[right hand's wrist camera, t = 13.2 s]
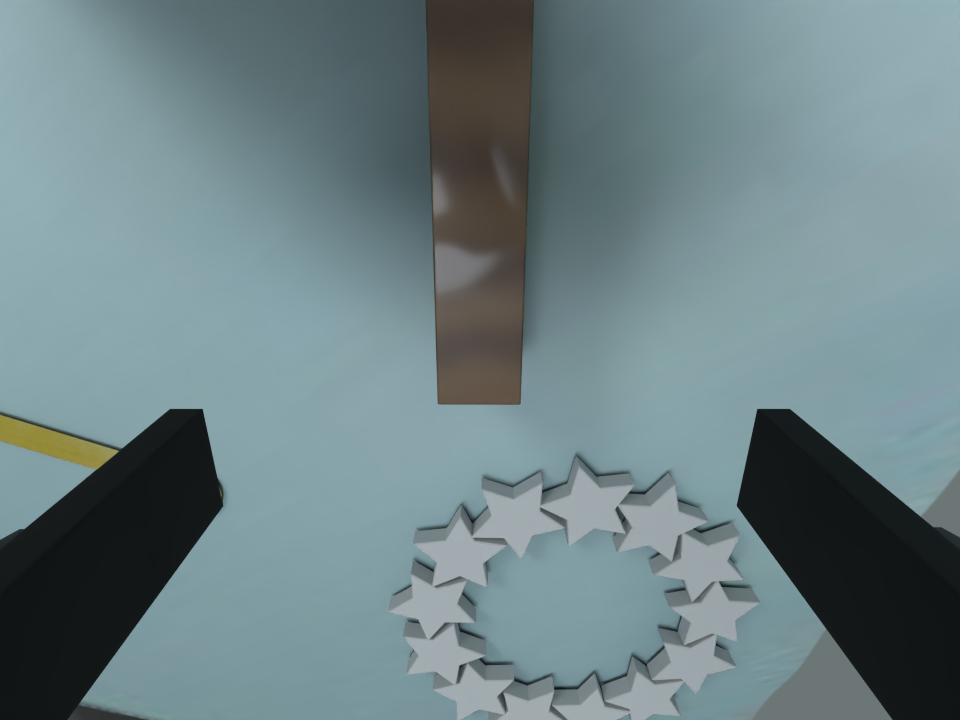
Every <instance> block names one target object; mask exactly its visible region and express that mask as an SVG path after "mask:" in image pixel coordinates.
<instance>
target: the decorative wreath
mask: <svg viewBox="0 0 960 720" xmlns="http://www.w3.org/2000/svg"><path fill="white" fill-rule="evenodd" d="M634 485H635V483H634V481H633V479H632V477H631V474H630V473H629V474H619V475H609V476H599V477H596V476H595V475H594V474H593V473H592V472H591V471H590V470H589V469H588V467H587V466H586V465H585V464H584V463H583V462H582V461H581V460H580V459H579V458H578V457H577V456H575V460H574V463H573V466H572V470H571V473H570V476H569V479H568V483H567V484H565V485H562V486H559V487H556V488H554V489H551V490H548V491H545V492H543V493H542V487H543V481H542V475H541V472H539V473H537V474H536V475H534V476H532V477H530V478H529V479H527V480H525V481H523V482H522V483H520V484H518V485H516V486H515V487H513V488H512V487H509V486H506V485H503V484H500V483H497V482H493V481H490V480H487V479H484V478H482V491H483V494H484V496H485V499H486V502H487V505H488V508H487V509H486V510H485V511H484V512H483V513H482V514H481V515H480V516H479V517H478V519H477V520H476V521H475V522H474V523H473V524H472V522H471V521H470V519H469V517H468V515H467V514H466V512H465V510H464V509H463V507H462V505H461V506H460V507H459V509H458V510H457V512H456V514H455V515H454V517H453V519H452V520H451V522H450V523H449V525H448V527H447V528H443V529H433V530H424V531H415V535H414V541H413V544H414V545H415V546H416V547H418V548H419V549H420V550H421V551H423V552H424V553H425V554H427V555H428V556H429V557H430V558H432V559H433V560H434V561H435V562H436V563H435V568H434V572H433V571H431V570H429V569H427V568H426V567H424V566H422V565H420V564H419V563H417V562H415V561H413V565H412V571H411V580H412V586H411V587H409V588H408V589H406V590H404V591H402V592H400V593H399V594H397V595H395V596H393V597H392V598H391V599H390V604H389V609H388V612H391V613H395V614H399V615H403V616H407V617H412V618H416V619H418V620H419V622H420V624H419V623H411V622H405V628H404V635H403V637H404V638H405V639H406V640H407V642H408V643H409V644H410V645H411V647H412V648H413V649H414V652H413V653H412V655H411V656H410V658H409V659H408V665H407V673H406V675H409V674H417V673H425V672H433V671H435V672H437V673H438V674H435V675H434V680H433V690H434V691H436V692H438V693H440V694H442V695H444V696H446V697H448V698H450V699H453V700H455V701H457V720H460V719H462V718H464V717H466V716H467V715H469V714H471V713H473V712H475V711H477V710H479V709H481V710H485V711H488V714H489V720H617V719H619V718H621V717H623V716H625V715H628V714H629V717H630V720H645V719H646V718H648V717H649V716H651V715H652V714H663V715H675V716H681V715H680V712H679V709H678V707H677V704H676V701H675V699H674V698H673V694H674V693H675V692H676V691H677V690H678V688H679V687H680V686H681V685H682V684H683V683H684V682H685V683H686V684H687V685H688V686H689V687H690V688H691V689H692V691H693V692H694V693H695V694H696V693H697V692H698V690H699V688H700V686H701V685H702V683H703V681H704V679H705V678H706V676H707V675H708V674H712V673H716V672H720V671H724V670H728V669H731V668H735V667H736V665H735V663H734V661H733V659H732V657H731V655H730V653H729V652H728V651H726V650H724V649H722V648H720V647H718V646H716V638H717V635H718V636H721V637H724V638H727V639H730V640H733V641H736V642H737V631H736V621H735V620H737V619H738V618H739V617H741V616H742V615H744V614H745V613H746V612H748V611H749V610H751V609H752V608H753V607H755V606H756V605H758V604H759V603H760V601H759V600H758V598H757V596H756V595H755V593H754V592H753V590H752V589H748V588H730V587H722V586H721V585H720V583H719V581H732V580H744V578H743V577H742V575H741V573H740V572H739V570H738V569H737V567H736V566H735V565H734V563H733V562H732V561H731V560H730V559H729V556H730V554H731V553H732V551H733V549H734V547H735V545H736V543H737V541H738V539H739V537H740V534H739V532H738V531H737V529H736V528H735V526H734V525H733V523H730V524H727V525H724V526H721V527H718V528H715V529H712V530H709V531H706V532H703V533H699V532H697V531H696V530H694V529H693V528H696V527H698V526H700V525H702V524H704V523H706V522H708V519H707V517H706V516H705V514H704V513H703V511H702V509H699V508H696V507H693V506H690V505H687V504H684V503H681V502H678V500H677V493H676V486H675V482H674V481H673V479H672V477H671V476H670V474H669V473H668V474H667V475H665V476H664V477H663V478H662V479H661V480H660V481H659V482H658V483H657V484H656V485H655V486H653V487H652V488H651V489H650V490H649V491H648V492H647V493H646V494H628V493H629V491H630V490H631V489H632V488H633V487H634ZM617 506H618V507H619V508H620V510H621V511H622V513H623V514H624V516H625V517H626V518H625V520H624V522H623V523H622V522H621V520H620V517H619V515H618V513H617V511H616V507H617ZM564 519H565V523H564ZM563 528H565V531H566V538H567V542H568V547H569V546H570V545H572V544H573V543H575V542H576V541H577V540H579V539H580V538H582V537H583V536H584V535H586V534H587V533H589V532H590V531H592V530H593V529H600V530H605V531H611V532H617V533H616V535H615V537H614V538H613V542H614V545H615V548H616V551H617V552H621V551H625V550H630V549H635V548H639V547H644V546H649V545H650V546H651V547H653V548H654V549H655V550H657V551H658V552H659V553H661V554H660V555H658V556H656V557H655V558H653V559H652V560H650V561H648V562H649V565H650V567H651V569H652V572H653V574H654V575H658V576H664V577H669V578H675V579H681V580H683V583H684V586H685V589H686V590H683V591H677V592H671V593H665V594H664V595H665V597H666V600H667V602H668V605H669V607H670V608H671V609H672V610H674V611H675V612H677V613H678V614H679V615H681V616H682V618H681V621H680V625H679V628H678V632H676V631H671V630H666V629H661V628H658V630H659V633H660V635H661V638H662V641H663V643H664V646H665V648H664V649H663V650H662V651H661V652H660V653H659V654H658V655H657V656H656V657H655V658H654V659H653V660H652V661H650V662H649V663H648V664H647V666H645V665H644V664H643V663H641V662H640V661H638V660H637V659H636V658H634V657H633V656H632V659H631V663H630V666H629V670H628V673H627V676H625V677H623V678H620V679H617V680H615V681H612V682H609V683H607V684H604V685H602V686H601V687H602V691H603V692H602V691H601V688H600V685H599V683H598V680H597V678H596V675H595V673H594V674H593V675H592V676H591V677H590V678H589V679H588V680H587V681H586V682H585V683H584V684H583V685H582V686H581V687H580V688H579V689H567V690H554V685H553V678H552V676H551V677H548V678H546V679H543V680H540V681H538V682H535V683H533V684H530V685H528V686H527V685H524V684H521V683H518V682H516V681H514V666H513V665H484V664H483V663H482V662H481V661H480V660H479V659H478V658H481V657H484V656H486V641H485V640H482V639H479V638H477V637H474V636H471V635H468V634H465V633H463V632H460V630H459V626H458V623H476V608H475V607H474V606H473V605H472V604H471V603H470V602H469V601H468V600H467V599H466V598H465V597H464V596H463V595H462V592H463V590H464V587H465V585H466V583H467V579H468V580H470V581H473V582H475V583H477V584H480V585H482V586H484V587H487V588H488V573H487V568H486V561H487V560H489V559H490V558H491V557H493V556H494V555H495V554H497V553H498V552H499V551H501V550H502V549H503V548H505V547H506V546H507V543H508V544H509V545H510V547H511V548H512V549H513V550H514V552H515V553H516V554H517V555H518V557H519V558H520V559H521V560H522V558H523V556H524V554H525V551H526V549H527V547H528V545H529V543H530V541H531V539H532V537H533V535H537V534H541V533H546V532H550V531H555V530H559V529H563ZM460 665H462V666H461V668H460V669H459V666H460ZM502 691H503V693H504V695H503V693H502Z"/></svg>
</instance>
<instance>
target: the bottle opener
mask: <svg viewBox="0 0 960 720" xmlns="http://www.w3.org/2000/svg"><path fill="white" fill-rule="evenodd" d="M0 441H2V442H6V443H9V444H12V445H16V446H19V447H22V448H26V449H29V450H33V451H36V452H39V453H43V454H46V455H49V456H53V457H56V458H59V459H63V460H66V461H69V462H73V463H76V464H80V465H83V466H86V467H90V468H93V469H96V470H97V469H98V468H99V467H100V466H102V465H103V464H104V463H105V462H107V461H108V460H109V459H110V458H111V457H113V456H114V455H115V454H116V453H117V452H119V450H115V449H112V448H109V447H105V446H102V445H99V444H96V443H92V442H89V441H86V440H82V439H79V438H76V437H72V436H69V435H66V434H63V433H59V432H56V431H53V430H49V429H46V428H43V427H40V426H36V425H33V424H30V423H26V422H23V421H20V420H17V419H13V418H10V417H7V416H3V415H0ZM219 488H220V486H219ZM220 493H221V498H222V492H221V489H220Z"/></svg>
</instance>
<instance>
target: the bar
mask: <svg viewBox="0 0 960 720" xmlns="http://www.w3.org/2000/svg"><path fill="white" fill-rule="evenodd" d="M533 16H534V0H426V24H427V57H428V91H429V125H430V158H431V192H432V226H433V259H434V293H435V326H436V360H437V394H438V404H504V405H519V404H520V403H521V374H522V344H523V314H524V284H525V255H526V225H527V195H528V165H529V135H530V106H531V76H532V46H533Z"/></svg>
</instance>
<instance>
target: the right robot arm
mask: <svg viewBox="0 0 960 720" xmlns="http://www.w3.org/2000/svg"><path fill="white" fill-rule="evenodd" d="M222 507H223V502H222V498H221V493H220V488H219V484H218V479H217V474H216V470H215V465H214V460H213V456H212V451H211V446H210V441H209V437H208V432H207V427H206V423H205V418H204V413H203V409H170V410H168V411H167V412H166V413H165V414H164V415H162V416H161V417H160V418H159V419H158V420H156V421H155V422H154V423H153V424H151V425H150V426H149V427H148V428H147V429H145V430H144V431H143V432H142V433H141V434H139V435H138V436H137V437H136V438H134V439H133V440H132V441H131V442H130V443H128V444H127V445H126V446H125V447H124V448H122V449H121V450H120V451H119V452H117V453H116V454H115V455H114V456H113V457H111V458H110V459H109V460H108V461H107V462H105V463H104V464H103V465H102V466H100V467H99V468H98V469H97V470H96V471H94V472H93V473H92V474H91V475H90V476H88V477H87V478H86V479H85V480H84V481H82V482H81V483H80V484H79V485H77V486H76V487H75V488H74V489H73V490H71V491H70V492H69V493H68V494H67V495H65V496H64V497H63V498H62V499H60V500H59V501H58V502H57V503H56V504H54V505H53V506H52V507H51V508H50V509H48V510H47V511H46V512H45V513H43V514H42V515H41V516H40V517H39V518H37V519H36V520H35V521H34V522H33V523H31V524H30V525H29V526H28V527H27V528H25V529H19V530H17V531H16V532H14V533H12V534H10V535H8V536H6V537H5V538H3V539H1V540H0V720H67V719H68V718H69V717H70V715H71V714H72V713H73V711H74V710H75V709H76V707H77V706H78V704H79V703H80V702H81V700H82V699H83V698H84V696H85V695H86V693H87V692H88V691H89V689H90V688H91V687H92V685H93V684H94V682H95V681H96V680H97V678H98V677H99V676H100V674H101V673H102V671H103V670H104V669H105V667H106V666H107V665H108V663H109V662H110V661H111V659H112V658H113V656H114V655H115V654H116V652H117V651H118V650H119V648H120V647H121V645H122V644H123V643H124V641H125V640H126V639H127V637H128V636H129V634H130V633H131V632H132V630H133V629H134V628H135V626H136V625H137V623H138V622H139V621H140V619H141V618H142V617H143V615H144V614H145V613H146V611H147V610H148V608H149V607H150V606H151V604H152V603H153V602H154V600H155V599H156V597H157V596H158V595H159V593H160V592H161V591H162V589H163V588H164V586H165V585H166V584H167V582H168V581H169V580H170V578H171V577H172V575H173V574H174V573H175V571H176V570H177V569H178V567H179V566H180V564H181V563H182V562H183V560H184V559H185V558H186V556H187V555H188V554H189V552H190V551H191V549H192V548H193V547H194V545H195V544H196V543H197V541H198V540H199V538H200V537H201V536H202V534H203V533H204V532H205V530H206V529H207V527H208V526H209V525H210V523H211V522H212V521H213V519H214V518H215V516H216V515H217V514H218V512H219V511H220V510H221V508H222ZM737 507H738V508H739V510H740V511H741V512H742V514H743V515H744V516H745V518H746V519H747V521H748V522H749V523H750V525H751V526H752V527H753V529H754V530H755V532H756V533H757V534H758V536H759V537H760V538H761V540H762V541H763V543H764V544H765V545H766V547H767V548H768V549H769V551H770V552H771V554H772V555H773V556H774V558H775V559H776V560H777V562H778V563H779V564H780V566H781V567H782V569H783V570H784V571H785V573H786V574H787V575H788V577H789V578H790V580H791V581H792V582H793V584H794V585H795V586H796V588H797V589H798V591H799V592H800V593H801V595H802V596H803V597H804V599H805V600H806V602H807V603H808V604H809V606H810V607H811V608H812V610H813V611H814V613H815V614H816V615H817V617H818V618H819V619H820V621H821V622H822V623H823V625H824V626H825V628H826V629H827V630H828V632H829V633H830V634H831V636H832V637H833V639H834V640H835V641H836V643H837V644H838V645H839V647H840V648H841V649H842V651H843V652H844V653H845V655H846V656H847V658H848V659H849V660H850V662H851V663H852V665H853V666H854V667H855V669H856V670H857V671H858V673H859V674H860V676H861V677H862V678H863V680H864V681H865V682H866V684H867V685H868V687H869V688H870V689H871V691H872V692H873V693H874V695H875V696H876V697H877V699H878V700H879V702H880V703H881V704H882V706H883V707H884V709H885V710H886V711H887V713H888V714H889V715H890V717H891V718H892V719H893V720H960V537H958V536H956V535H954V534H952V533H950V532H949V531H947V530H945V529H943V528H941V527H932V526H931V525H930V524H929V523H927V522H926V521H925V520H924V519H923V518H921V517H920V516H919V515H918V514H917V513H915V512H914V511H913V510H912V509H910V508H909V507H908V506H907V505H906V504H904V503H903V502H902V501H901V500H900V499H898V498H897V497H896V496H895V495H893V494H892V493H891V492H890V491H889V490H887V489H886V488H885V487H884V486H883V485H881V484H880V483H879V482H878V481H876V480H875V479H874V478H873V477H872V476H870V475H869V474H868V473H867V472H866V471H864V470H863V469H862V468H861V467H859V466H858V465H857V464H856V463H855V462H853V461H852V460H851V459H850V458H849V457H847V456H846V455H845V454H844V453H843V452H841V451H840V450H839V449H838V448H836V447H835V446H834V445H833V444H832V443H830V442H829V441H828V440H827V439H826V438H824V437H823V436H822V435H821V434H819V433H818V432H817V431H816V430H815V429H813V428H812V427H811V426H810V425H809V424H807V423H806V422H805V421H804V420H802V419H801V418H800V417H799V416H798V415H796V414H795V413H794V412H793V411H792V410H790V409H757V413H756V418H755V423H754V427H753V432H752V437H751V441H750V446H749V451H748V456H747V460H746V465H745V470H744V474H743V479H742V484H741V488H740V493H739V498H738V502H737Z"/></svg>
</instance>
